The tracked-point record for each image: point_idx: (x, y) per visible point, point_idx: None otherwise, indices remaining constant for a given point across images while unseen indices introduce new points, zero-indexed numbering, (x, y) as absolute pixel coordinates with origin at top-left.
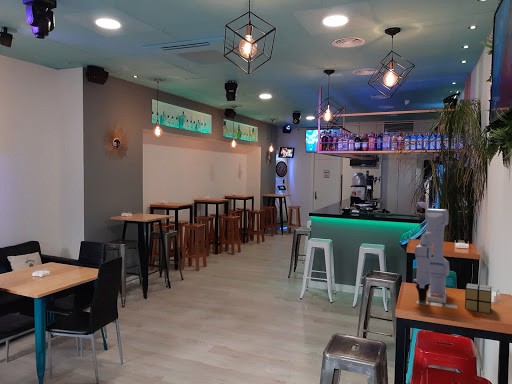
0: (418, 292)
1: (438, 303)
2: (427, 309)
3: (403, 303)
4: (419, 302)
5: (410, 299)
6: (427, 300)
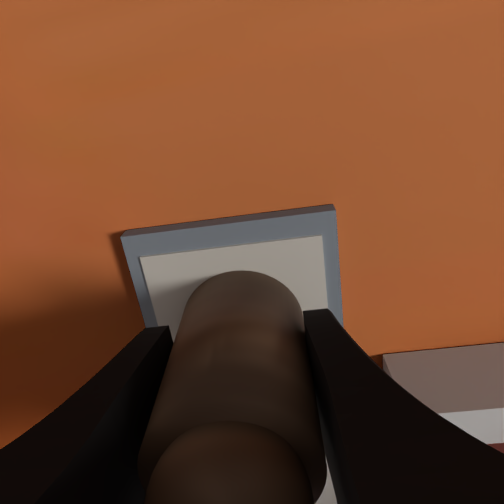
0: (11, 446)
1: (325, 486)
2: (19, 402)
3: (29, 32)
4: (192, 294)
5: (404, 90)
6: (390, 370)
